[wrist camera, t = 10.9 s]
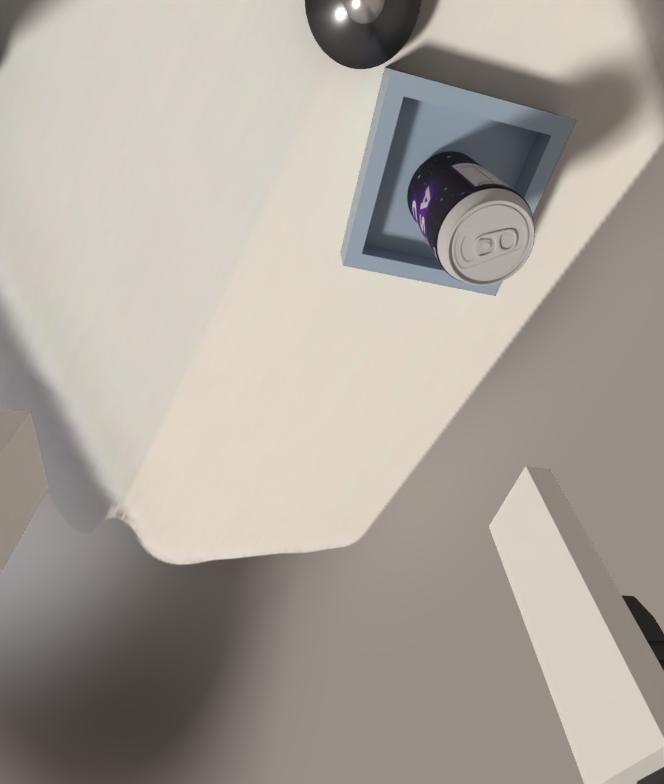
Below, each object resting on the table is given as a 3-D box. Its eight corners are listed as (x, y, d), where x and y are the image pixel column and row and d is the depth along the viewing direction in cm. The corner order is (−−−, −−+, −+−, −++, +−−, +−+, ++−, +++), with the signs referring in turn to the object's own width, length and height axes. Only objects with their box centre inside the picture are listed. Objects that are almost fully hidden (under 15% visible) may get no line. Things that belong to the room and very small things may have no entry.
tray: (384, 67, 32) (391, 69, 30) (557, 114, 34) (576, 120, 32) (340, 251, 40) (343, 265, 37) (484, 281, 42) (495, 296, 39)
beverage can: (400, 159, 35) (436, 206, 25) (478, 140, 34) (544, 180, 25) (410, 234, 38) (444, 301, 29) (480, 218, 38) (540, 280, 28)
